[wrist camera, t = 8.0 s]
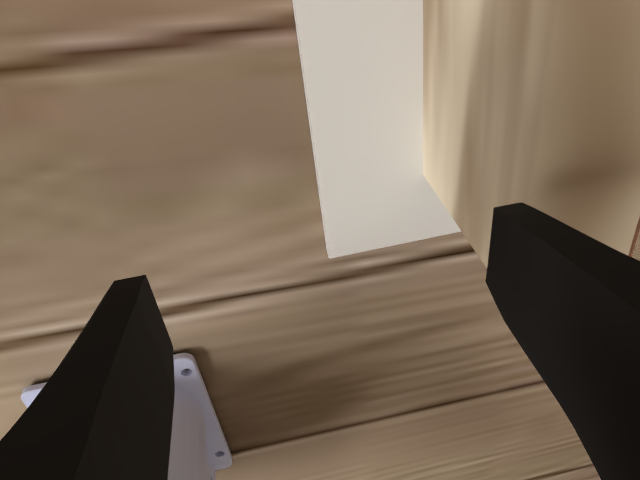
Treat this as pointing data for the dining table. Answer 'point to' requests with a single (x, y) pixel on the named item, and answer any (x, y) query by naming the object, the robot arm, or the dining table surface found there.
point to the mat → (368, 122)
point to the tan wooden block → (534, 113)
